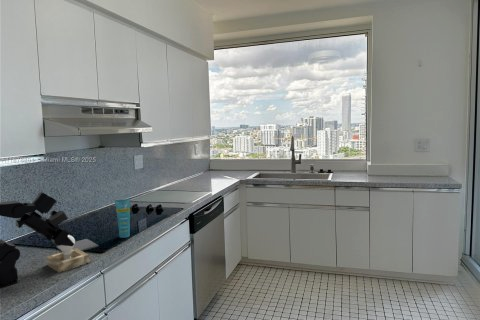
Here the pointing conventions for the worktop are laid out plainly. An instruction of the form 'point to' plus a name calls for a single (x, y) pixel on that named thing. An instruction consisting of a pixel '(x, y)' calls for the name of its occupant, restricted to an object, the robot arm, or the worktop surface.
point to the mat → (83, 245)
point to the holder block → (62, 265)
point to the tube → (123, 217)
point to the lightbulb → (67, 248)
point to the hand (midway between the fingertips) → (70, 243)
